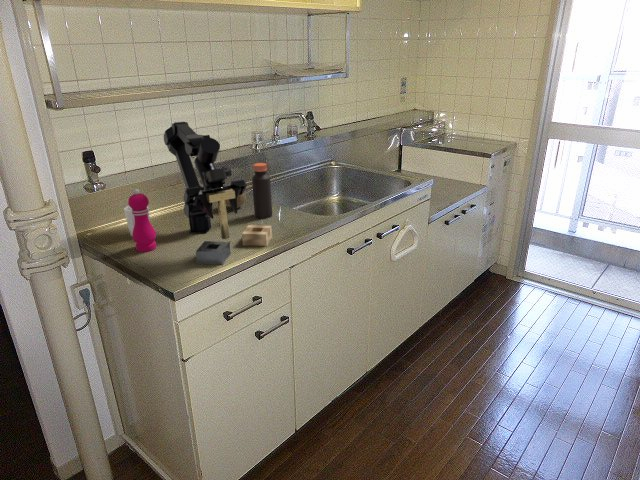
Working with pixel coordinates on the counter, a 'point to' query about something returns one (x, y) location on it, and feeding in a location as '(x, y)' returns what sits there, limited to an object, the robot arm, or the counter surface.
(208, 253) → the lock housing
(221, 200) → the T-key
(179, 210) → the counter surface
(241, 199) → the natural sponge
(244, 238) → the tan square ring block
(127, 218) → the white cup
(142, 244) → the pepper mill
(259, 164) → the bottle
